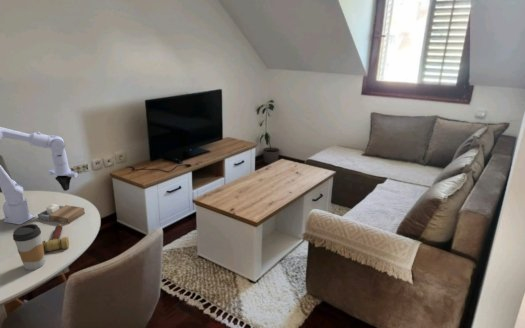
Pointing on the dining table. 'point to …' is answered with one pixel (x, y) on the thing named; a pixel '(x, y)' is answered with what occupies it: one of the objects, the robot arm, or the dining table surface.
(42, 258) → the coffee cup
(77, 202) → the dining table surface
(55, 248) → the gavel
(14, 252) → the dining table surface
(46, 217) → the tray
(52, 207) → the tile block
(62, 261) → the dining table surface
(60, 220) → the board
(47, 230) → the dining table surface
